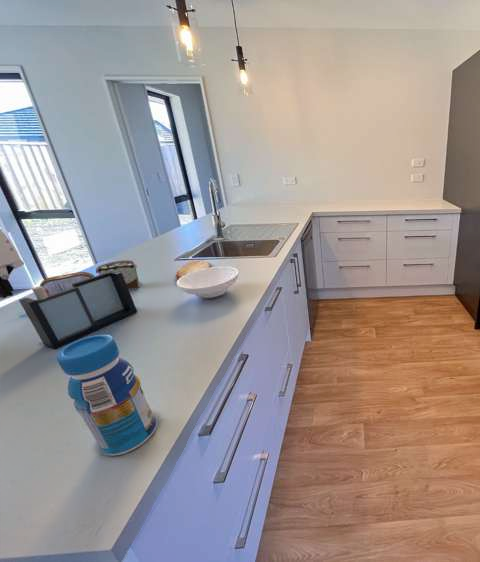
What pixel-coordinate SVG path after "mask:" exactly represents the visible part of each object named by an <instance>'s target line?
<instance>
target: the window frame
mask: <svg viewBox="0 0 480 562" xmlns="http://www.w3.org/2000/svg"><path fill="white" fill-rule="evenodd" d="M94 276H95V277H92V278H88V279H85V280H82V281H79V282H76V283H73V284H72V286H73V287H78V288H79V290H80V292H81V294H82V297H83V299H84V301H85V303H86V305H87V307H88V309H89V311H90V314H91V316H92V318H93V320H94V322H95V324H94V325H91V326H88V327H86V328H84V329H81V330H79V331H77V332H74V333H72V334H70V335H68V336H65V337H63V338H61V339H57V337H56V335H55V333H54V331H53V330H52V328H51V326H50V324H49V322H48V320H47V319H46V317H45V315H44V313H43V311H42V309H41V308H40V306H39V304H38V302H37V301H36V300H37V299H33V298H30V297H23V298H20V299H18V301H19V303H20V305H21V307H22V308H23V311H24V312H25V314H26V315H27V318H28V319H29V321H30V322H31V325H32V326H33V327H34V329H35V331H36V334H37V335H38V337H39V338H40V340H41V342H42V344H43V345H44V347H47V348H49V349H52V350H57V349H59V348H62V347H63V346H64V347H65V346H67V345H69V344H71V343H73V342H75V341H77V340H80V339H82V338H85V337H86V336H88V335H91V334H92V333H94V332H97V331H99V330H101V329H103V328H106V327H108V326H110V325H112V324H114V323H117V322H119V321H122V320H123V319H125V318H128V317H130V316H132V315H135V314H136V313H138V310H137V307H136V305H135V303H134V300H133V298H132V294H131V293H130V290H128V287H127V285H126V282H125V280H124V277H123V275H122V272H117V271H112V270H111V271H108V272H106V273H104V274H101V275H99V274H97V275H94Z"/></svg>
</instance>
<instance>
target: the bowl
mask: <svg viewBox="0 0 480 562" xmlns="http://www.w3.org/2000/svg"><path fill="white" fill-rule="evenodd" d="M238 278H239V270H238V269H237V268H235V267H231V266H211V268H205V269H201V270H197V271H194V272H191V273H188V274H186V275H184V276H182V277H181V278H180V279H179V280H176V286H177V287H178V288H179V289H180V290H181V291H182V292H184V293H185V294H189V295H195V296H196V297H198V298H200V299H213V298H218V297H219V296H222V295H224V294H225V293H227V292H228V290H229V288H230V287H231V286H233V285H234V284H235V283H236V282H237V280H238Z"/></svg>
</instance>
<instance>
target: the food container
mask: <svg viewBox="0 0 480 562" xmlns="http://www.w3.org/2000/svg"><path fill="white" fill-rule="evenodd" d="M137 269H138V265H137V263H136V262H135V261H134V260H130V259H124V260H123V259H122V260H117V261H115V260H114V261H110V262H107V263H103V264H101V265H98V266H96V267H95V274H98V275H101V274H104V273H106V272H108V271H111V270H112V271H117V272H122V275H123V277H124V280H125V282H126V285H127V287H128V290H129V291H130V290H136V289H141V285H140V281H139V275H138V271H137Z"/></svg>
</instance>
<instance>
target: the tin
mask: <svg viewBox="0 0 480 562" xmlns="http://www.w3.org/2000/svg"><path fill="white" fill-rule="evenodd" d="M95 276H96V275H94V274H92V272H91V273H90V272H88V271H77V272H72V273H66V274H61V275H55V276H50V277H47V278H45V279H43V280H42V281H41V283H39V287H40V286H41V287H42V288H43V289H44V291H45V293H46V295H47V296H50V295H53V294H56V293H59V292H62V291H65V290H68V289H71V288H74V287H73V286H72V284H73V283H76V282H79V281H82V280H85V279H88V278H92V277H95Z"/></svg>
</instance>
